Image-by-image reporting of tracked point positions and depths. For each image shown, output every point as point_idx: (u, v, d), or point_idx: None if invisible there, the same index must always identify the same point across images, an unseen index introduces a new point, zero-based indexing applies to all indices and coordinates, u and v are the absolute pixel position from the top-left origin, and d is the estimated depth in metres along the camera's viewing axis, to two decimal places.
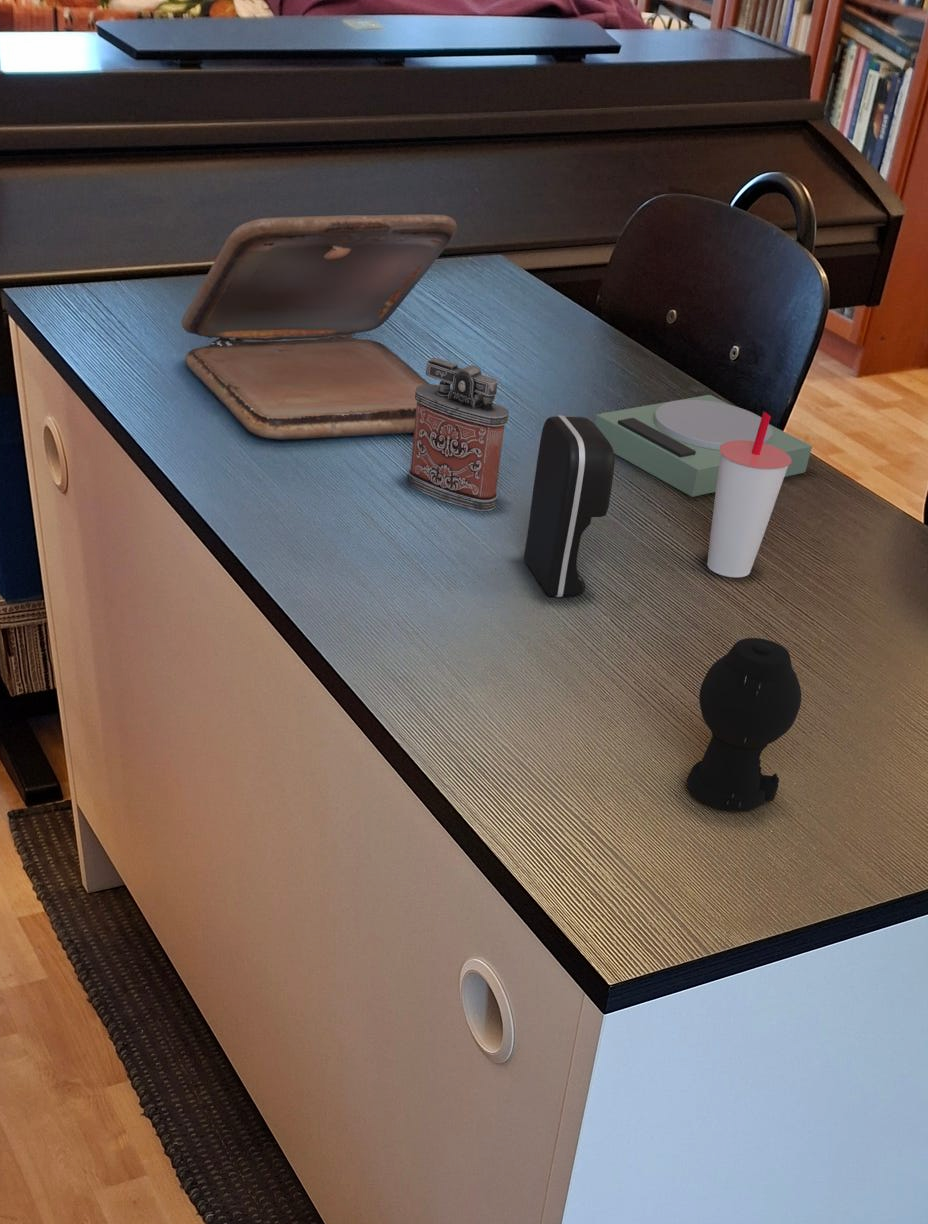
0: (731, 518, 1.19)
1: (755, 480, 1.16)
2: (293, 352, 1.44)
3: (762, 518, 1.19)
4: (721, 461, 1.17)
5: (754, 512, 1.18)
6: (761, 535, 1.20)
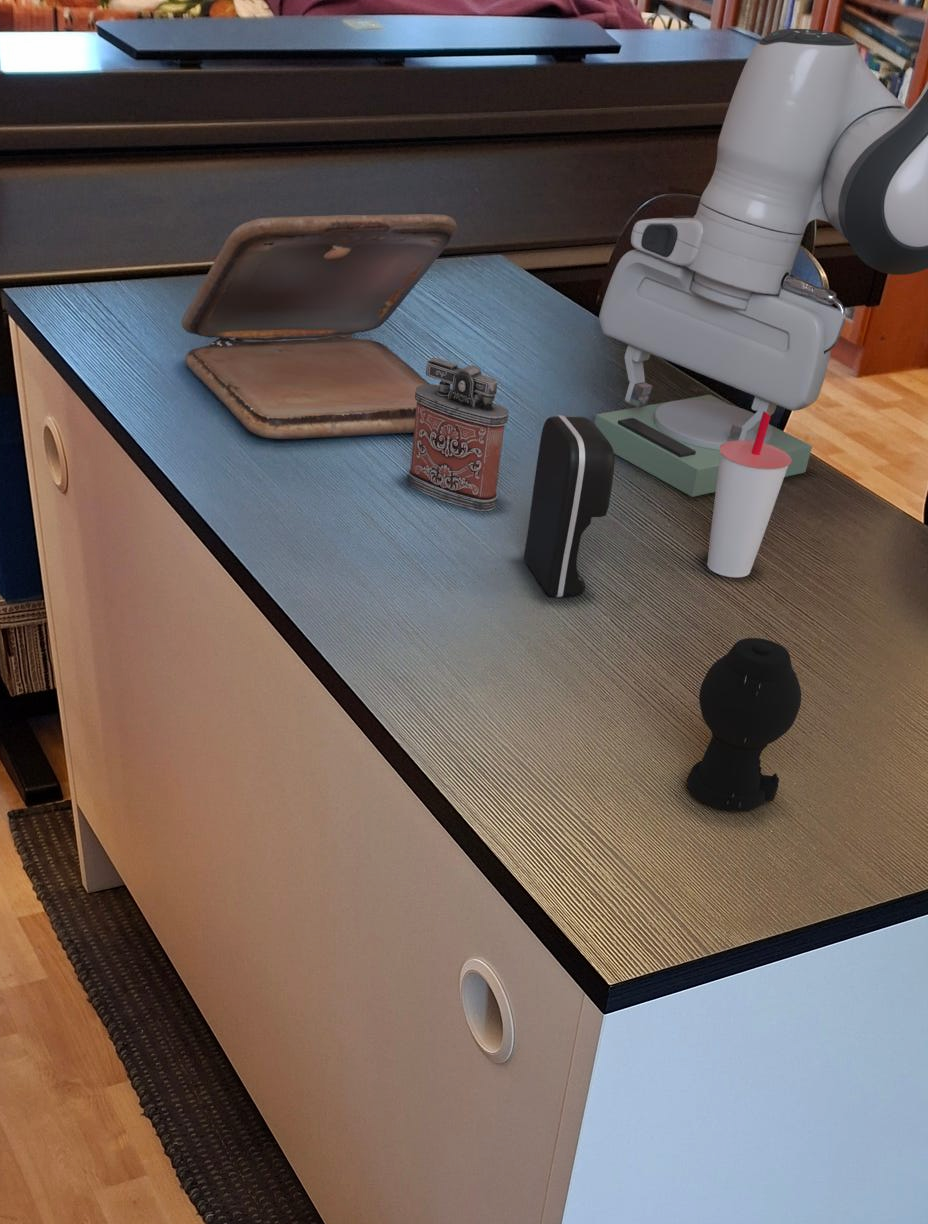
0: (731, 518, 1.19)
1: (755, 480, 1.16)
2: (293, 352, 1.44)
3: (762, 518, 1.19)
4: (721, 461, 1.17)
5: (754, 512, 1.18)
6: (761, 535, 1.20)
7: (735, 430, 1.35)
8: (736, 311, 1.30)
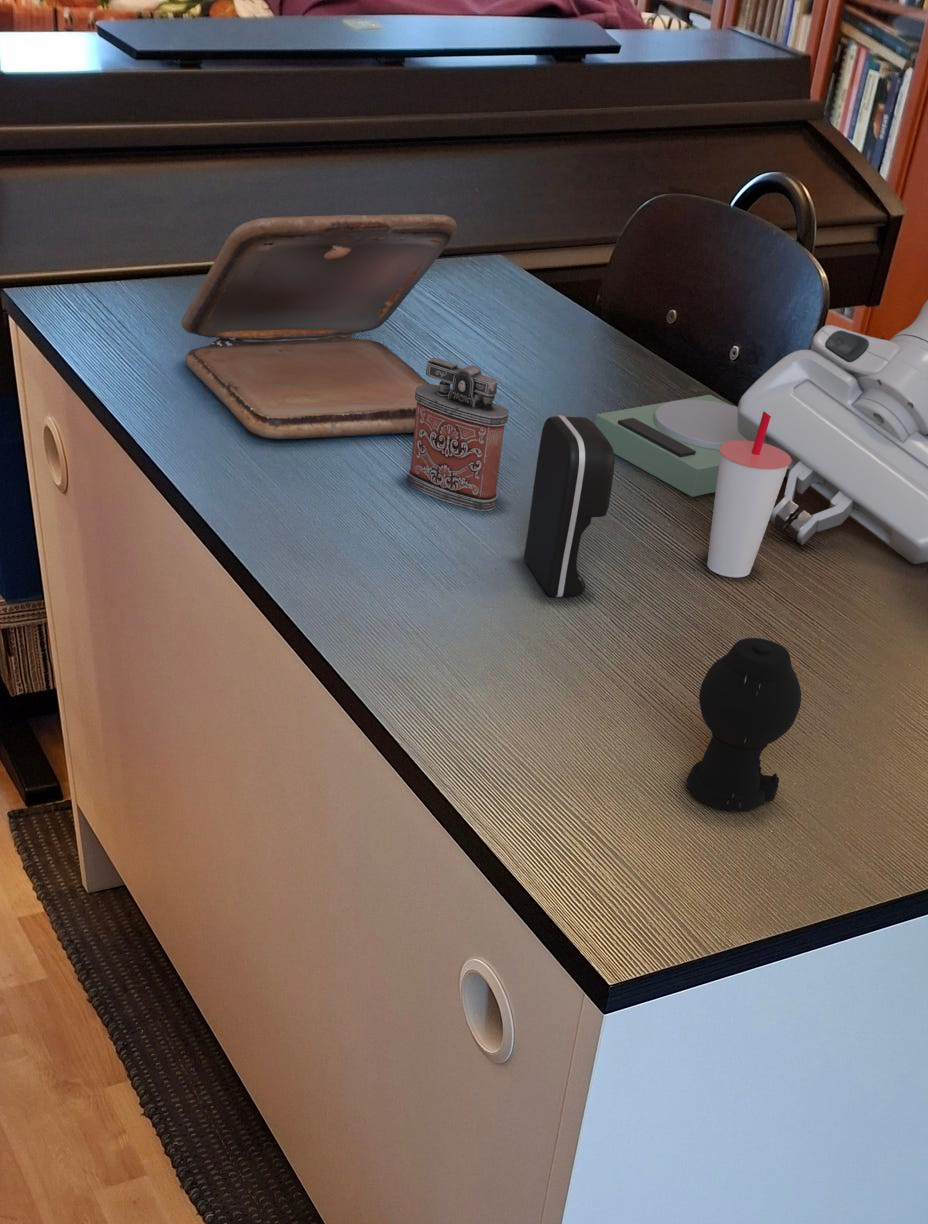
0: (731, 518, 1.19)
1: (755, 480, 1.16)
2: (293, 352, 1.44)
3: (762, 518, 1.19)
4: (721, 461, 1.17)
5: (754, 512, 1.18)
6: (761, 535, 1.20)
7: (804, 516, 1.26)
8: (893, 440, 1.25)
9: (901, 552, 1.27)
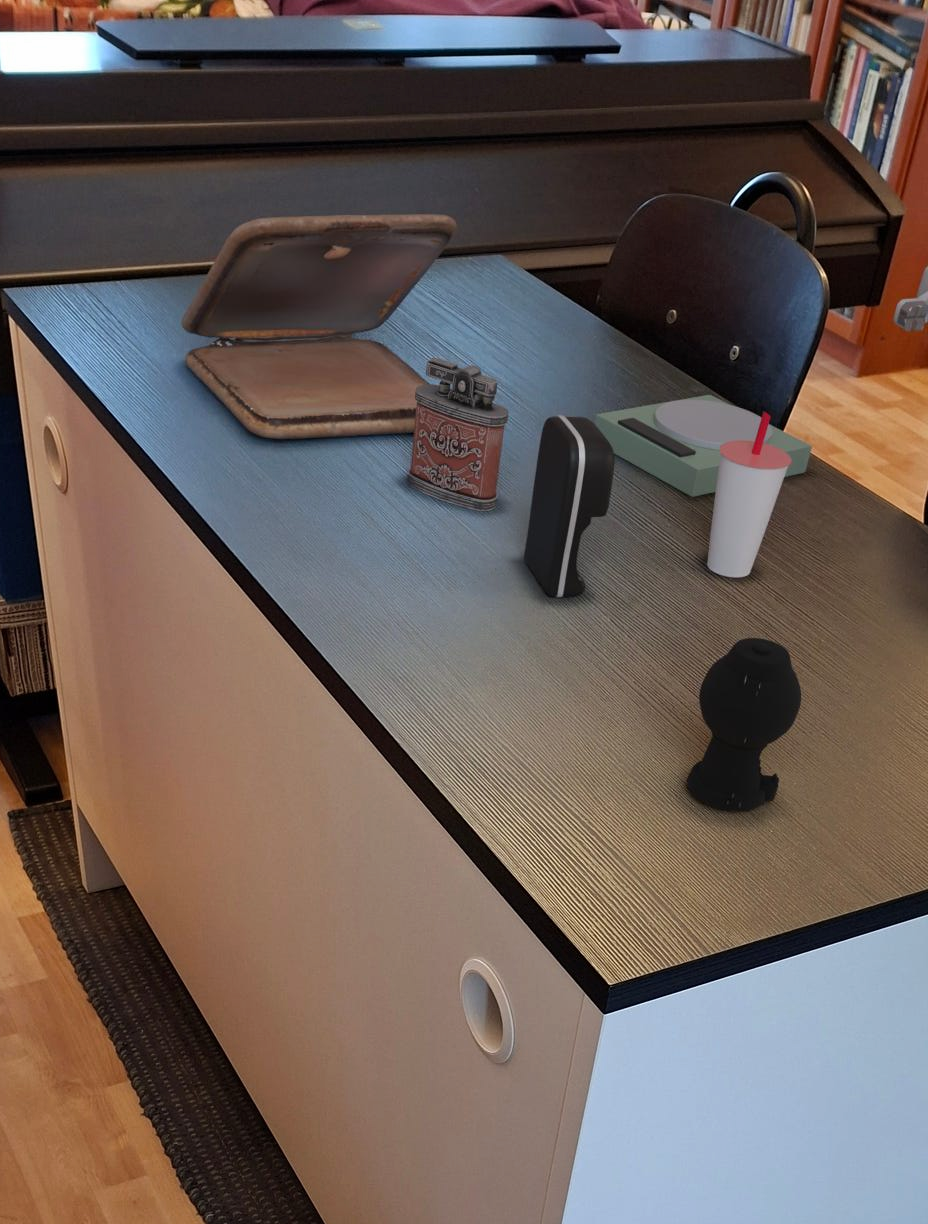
0: (731, 518, 1.19)
1: (755, 480, 1.16)
2: (293, 352, 1.44)
3: (762, 518, 1.19)
4: (721, 461, 1.17)
5: (754, 512, 1.18)
6: (761, 535, 1.20)
7: None
8: None
9: None
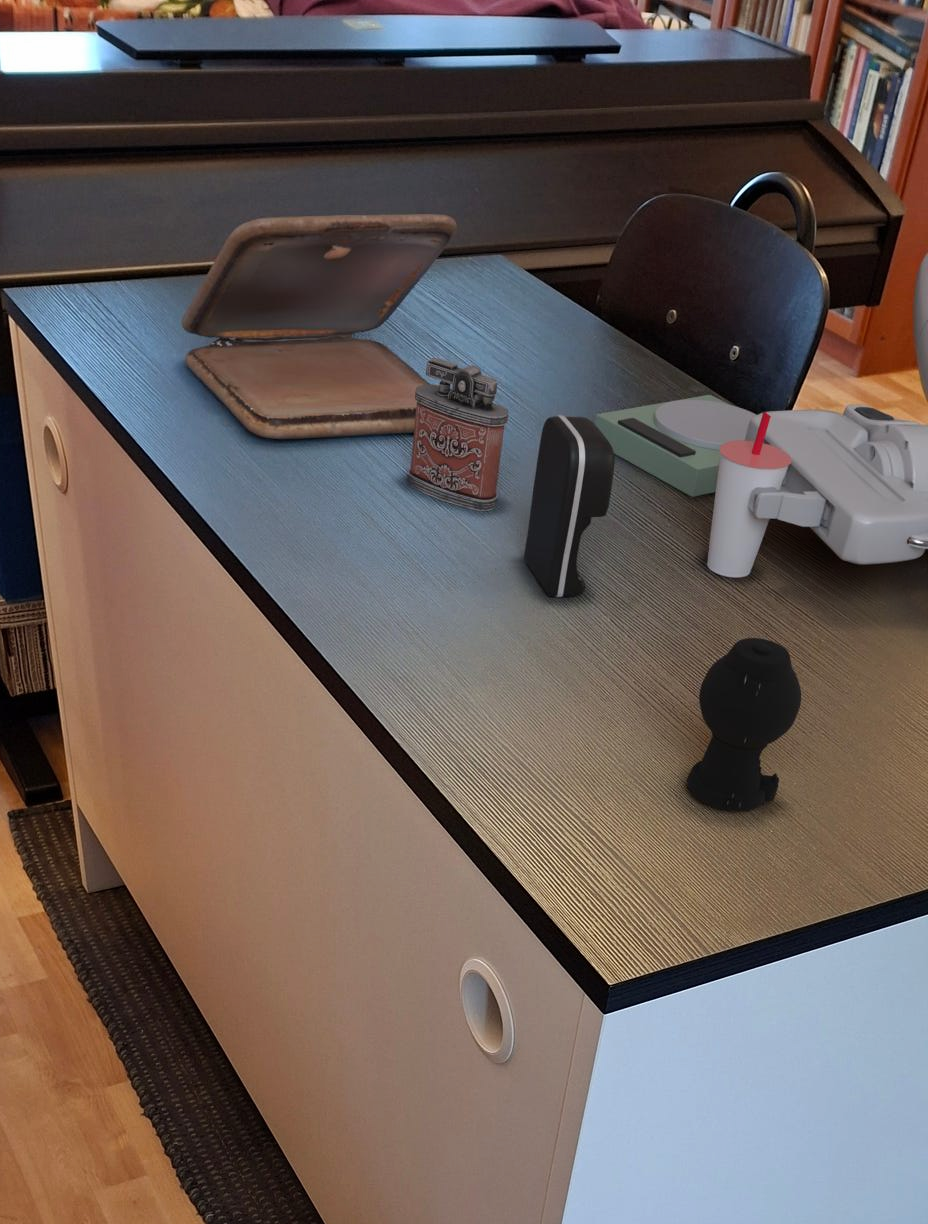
0: (731, 518, 1.19)
1: (755, 479, 1.16)
2: (293, 352, 1.44)
3: None
4: (721, 461, 1.17)
5: None
6: (761, 535, 1.20)
7: (772, 489, 1.17)
8: (875, 473, 1.19)
9: (834, 543, 1.15)
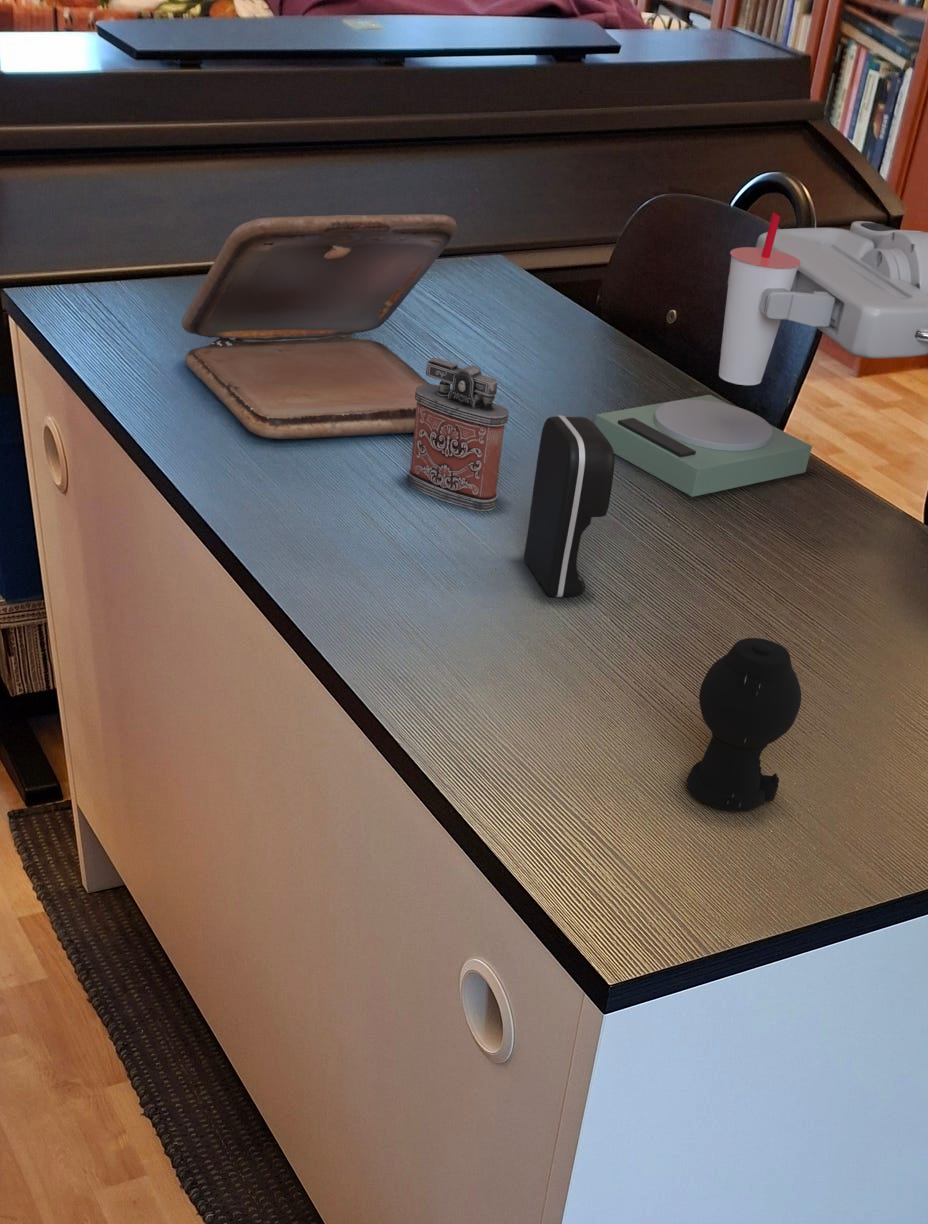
0: (742, 322, 1.22)
1: (765, 280, 1.19)
2: (293, 352, 1.44)
3: (773, 322, 1.22)
4: (732, 264, 1.20)
5: (764, 314, 1.21)
6: (771, 341, 1.23)
7: (782, 290, 1.19)
8: (883, 276, 1.22)
9: (844, 339, 1.18)
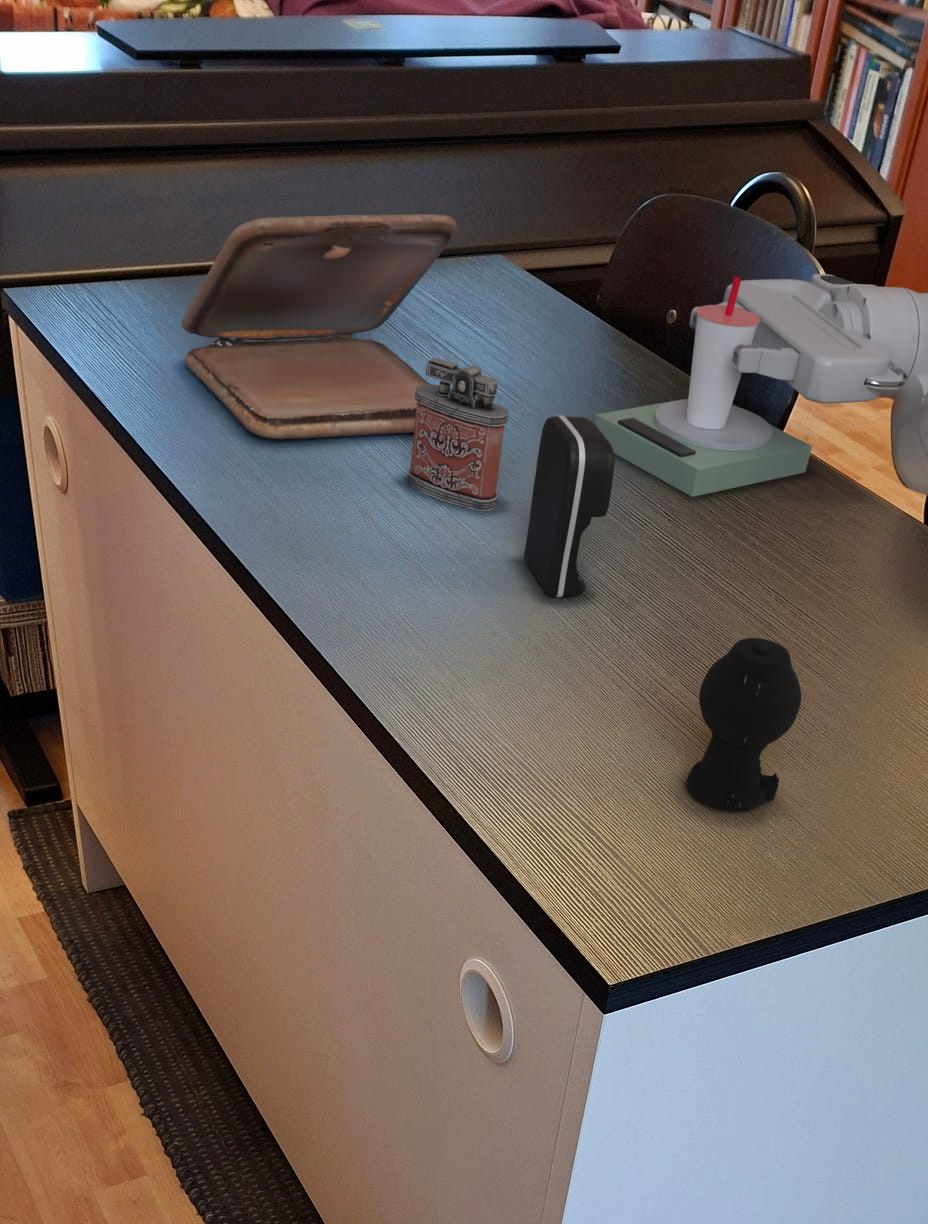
0: (707, 373, 1.34)
1: (727, 336, 1.32)
2: (293, 352, 1.44)
3: (735, 373, 1.34)
4: (698, 321, 1.33)
5: (727, 367, 1.33)
6: (734, 390, 1.35)
7: (752, 346, 1.30)
8: (837, 327, 1.34)
9: (800, 385, 1.30)
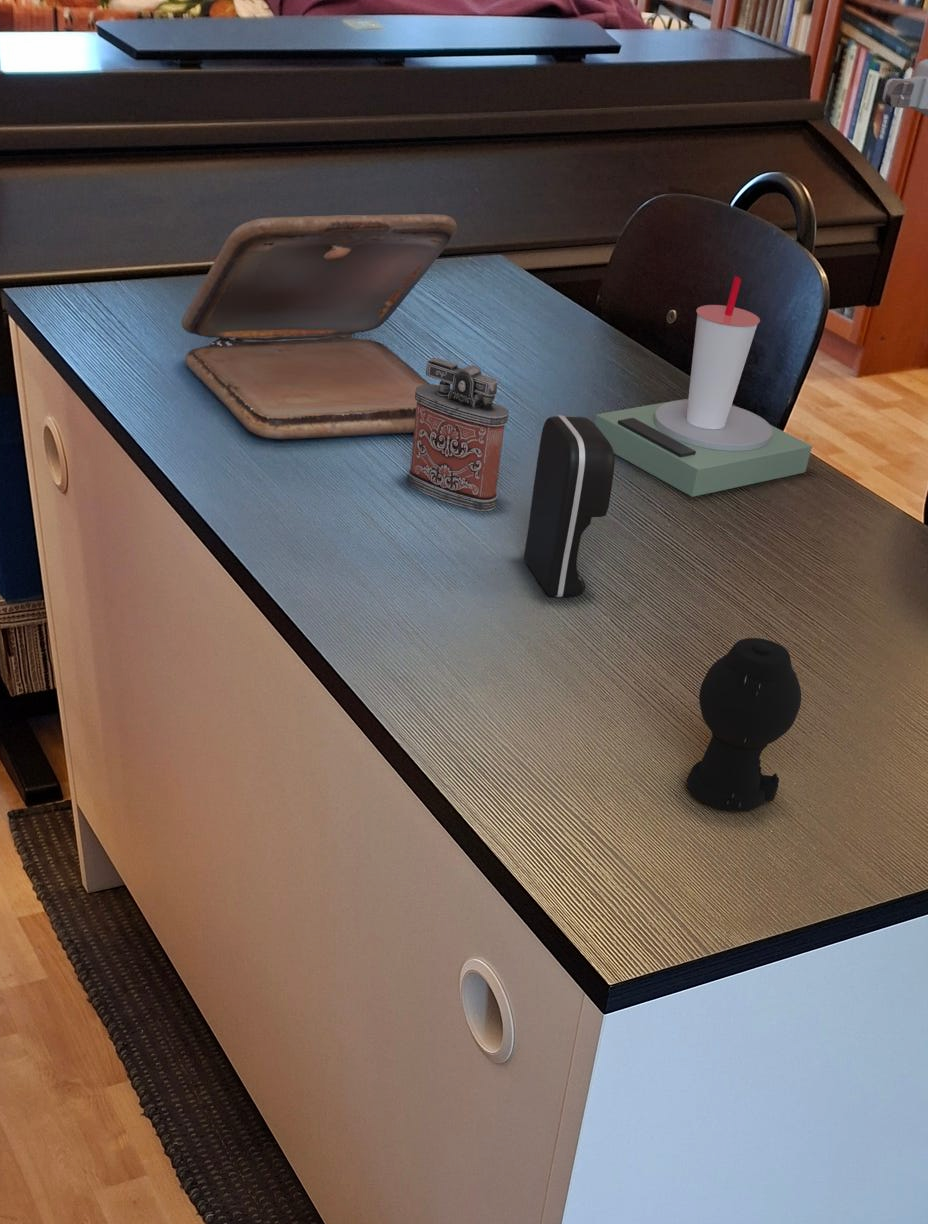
0: (707, 373, 1.34)
1: (727, 336, 1.32)
2: (293, 352, 1.44)
3: (735, 373, 1.34)
4: (698, 321, 1.33)
5: (727, 367, 1.33)
6: (734, 390, 1.35)
7: None
8: None
9: None
